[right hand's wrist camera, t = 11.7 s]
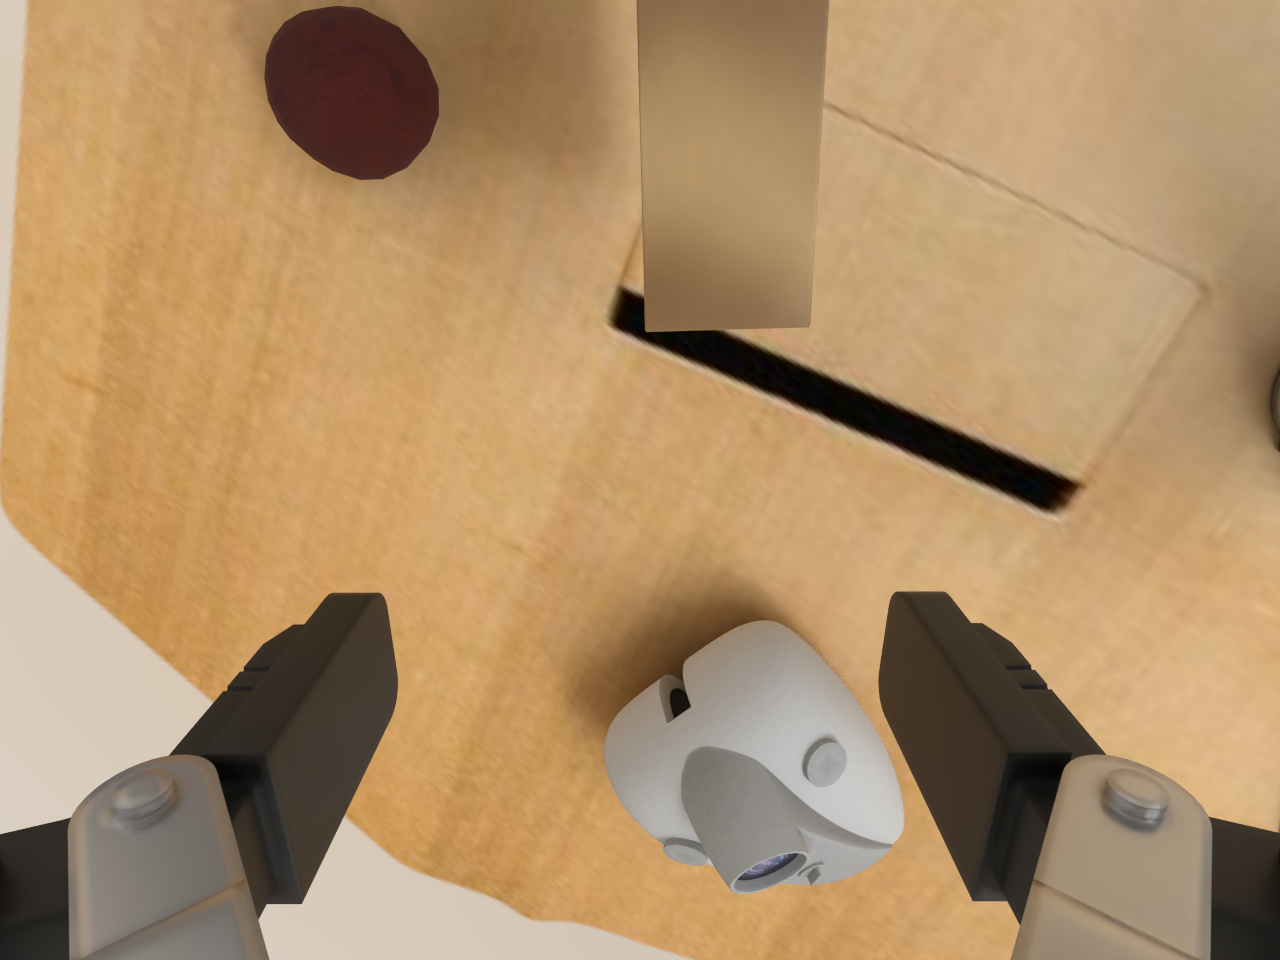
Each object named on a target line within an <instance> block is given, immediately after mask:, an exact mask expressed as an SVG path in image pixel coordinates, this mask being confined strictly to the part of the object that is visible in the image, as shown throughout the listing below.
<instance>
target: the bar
mask: <svg viewBox="0 0 1280 960" xmlns="http://www.w3.org/2000/svg"><path fill="white" fill-rule="evenodd" d="M828 10H829V0H637V29H638V68H639V107H640V145H641V184H642V223H643V261H644V300H645V330H646V331H647V332H655V331H690V330H726V329H762V328H797V327H809V326H810V317H811V300H812V283H813V266H814V249H815V232H816V215H817V198H818V181H819V164H820V146H821V129H822V112H823V95H824V78H825V61H826V44H827V27H828Z"/></svg>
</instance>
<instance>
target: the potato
mask: <svg viewBox="0 0 1280 960" xmlns="http://www.w3.org/2000/svg"><path fill="white" fill-rule="evenodd" d="M265 84H266V89H267V95H268V101H269V103H270V106H271V108H272V110H273V112H274V115H275V117H276V119H277V121H278V123H279V124H280V126H281V127H282V128H283V130H284V131H285V132H286V134H287V135H288V136H289V138H290V139H291V140H292V141H294V142H295V143H296V144H297V145H298V146H299V147H301V148H302V149H303V150H304V151H305V152H306V153H307V154H309V155H310V156H311V157H312V158H313V159H314V160H316V161H318V162H319V163H321V164H322V165H324V166H326V167H327V168H329V169H331V170H332V171H335V172H338V173H341V174H344V175H347V176H350V177H353V178H356V179H359V180H370V179H384V178H386V177H388V176H390V175H392V174H394V173H396V172H398V171H401V170H403V169H405V168H407V167H408V166H409V165H410V163H411V162H412V161H413V160H414V159H415V158H416V157H417V155H418V154H419V153H420V152H421V151H422V150H423V148H424V147H425V146H426V145H427V144H428V143H429V141H430V138H431V136H432V133H433V130H434V127H435V124H436V122H437V119H438V116H439V92H438V87H437V84H436V81H435V79H434V76H433V74H432V71H431V69H430V66H429V64H428V62H427V59H426V58H425V57H424V56H423V54H422V53H421V52H420V51H419V50H418V49H417V48H416V47H415V45H414V44H413V43H412V42H411V41H410V40H409V39H408V37H407V36H406V35H405V34H404V33H403V31H402V30H401V29H400V28H399V27H397V26H395V25H393V24H391V23H389V22H387V21H385V20H383V19H382V18H380V17H378V16H376V15H374V14H372V13H370V12H368V11H366V10H364V9H362V8H355V7H342V6H333V7H326V8H321V9H315V10H310V11H304V12H301V13H299V14H298V15H296V16H294V17H293V18H291V19H289V20H288V21H286V22H285V23H284V24H283V25H282V26H281V28H280V29H279V30H278V32H277V33H276V34H275V35H274V37H273V39H272V41H271V44H270V47H269V50H268V52H267V55H266V65H265Z"/></svg>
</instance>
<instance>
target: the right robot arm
mask: <svg viewBox="0 0 1280 960" xmlns="http://www.w3.org/2000/svg"><path fill="white" fill-rule="evenodd" d="M1272 411H1273V417H1274V420H1275V424H1276V426H1277V428H1278V430H1279V432H1280V373H1279V376H1278V378H1277V381H1276V384H1275V388H1274V392H1273V400H1272ZM1279 452H1280V446H1279ZM397 691H398V676H397V669H396V662H395V655H394V649H393V642H392V635H391V629H390V622H389V615H388V609H387V604H386V600H385V598H384V596H383V595H382V594H381V593H331V594H329V595H328V596H327V597H326V598H325V599H324V600H323V602H322V603H321V604H320V605H319V607H318V608H317V609H316V610H315V612H314V613H313V614H312V616H311V617H310V618H309V619H308V621H307V622H306V623H305V624H304V625H292V626H291V627H289V628H287V629H286V630H284V631H283V632H281V633H280V634H278V635H277V636H275V637H274V638H272V639H271V640H269V641H267V642H266V643H264V644H263V645H262V646H261V648H260V649H259V650H258V651H257V652H256V653H255V655H254V656H253V657H252V658H251V659H250V661H249V662H248V663H247V664H246V665H245V666H244V671H243V672H239V673H238V675H237V676H236V677H235V678H234V679H233V681H232V682H231V683H230V684H229V685H228V689H227V691H223V692H222V693H221V695H220V696H219V697H218V698H217V699H216V701H215V702H214V703H213V704H212V705H211V706H210V708H209V709H208V710H207V711H206V712H205V713H204V715H203V716H202V717H201V718H200V719H199V721H198V722H197V723H196V724H195V725H194V727H193V728H192V729H191V730H190V731H189V732H188V734H187V735H186V736H185V737H184V738H183V739H182V741H181V742H180V743H179V744H178V745H177V746H176V748H175V749H174V750H173V751H172V752H171V754H170V755H169V756H164V757H160V758H156V759H152V760H149V761H146V762H143V763H140V764H138V765H135V766H133V767H131V768H128V769H126V770H124V771H123V772H120V773H119V774H117V775H115V776H113V777H112V778H110V779H109V780H107V781H105V782H104V783H103V784H101V785H100V786H99V787H97V788H96V789H95V790H94V791H92V792H91V793H90V794H89V795H88V796H87V797H86V798H85V799H84V800H83V801H82V802H81V804H80V805H79V806H78V807H77V809H76V810H75V812H74V813H73V815H72V817H71V818H68V819H64V820H60V821H56V822H52V823H47V824H43V825H39V826H34V827H30V828H26V829H22V830H17V831H13V832H8V833H4V834H0V960H269V957H268V953H267V950H266V946H265V943H264V939H263V935H262V932H261V928H260V925H259V921H258V919H259V918H260V916H261V914H262V912H263V910H264V908H265V906H266V904H302V902H303V900H304V898H305V896H306V894H307V892H308V890H309V888H310V886H311V883H312V881H313V879H314V877H315V875H316V873H317V871H318V869H319V867H320V865H321V863H322V861H323V858H324V857H325V854H326V852H327V850H328V848H329V846H330V844H331V842H332V840H333V838H334V836H335V834H336V832H337V830H338V827H339V825H340V823H341V821H342V819H343V817H344V815H345V813H346V811H347V809H348V807H349V805H350V803H351V800H352V798H353V796H354V794H355V792H356V790H357V788H358V786H359V784H360V782H361V780H362V778H363V775H364V773H365V771H366V769H367V767H368V765H369V763H370V761H371V759H372V757H373V755H374V753H375V751H376V748H377V746H378V744H379V742H380V740H381V738H382V736H383V734H384V732H385V730H386V728H387V726H388V724H389V721H390V719H391V717H392V715H393V712H394V709H395V705H396V699H397ZM879 695H880V701H881V706H882V709H883V713H884V715H885V717H886V719H887V722H888V724H889V726H890V728H891V730H892V732H893V734H894V736H895V738H896V740H897V743H898V745H899V747H900V749H901V751H902V753H903V755H904V757H905V759H906V762H907V764H908V766H909V768H910V770H911V772H912V774H913V776H914V778H915V780H916V783H917V785H918V787H919V789H920V791H921V793H922V795H923V797H924V799H925V801H926V804H927V806H928V808H929V810H930V812H931V814H932V816H933V818H934V820H935V823H936V825H937V827H938V829H939V831H940V833H941V835H942V837H943V839H944V841H945V844H946V846H947V848H948V850H949V852H950V854H951V856H952V858H953V860H954V863H955V865H956V867H957V869H958V871H959V873H960V875H961V877H962V879H963V881H964V884H965V886H966V888H967V890H968V892H969V894H970V896H971V898H972V900H973V901H1008V903H1009V905H1010V907H1011V909H1012V911H1013V913H1014V915H1015V916H1016V918H1017V920H1018V922H1019V924H1020V928H1019V932H1018V935H1017V939H1016V943H1015V946H1014V950H1013V953H1012V957H1011V960H1280V833H1277V832H1272V831H1268V830H1264V829H1259V828H1255V827H1251V826H1246V825H1242V824H1238V823H1233V822H1229V821H1225V820H1220V819H1216V818H1212V817H1208V815H1207V813H1206V812H1205V810H1204V809H1203V807H1202V806H1201V805H1200V803H1199V802H1198V801H1197V800H1196V799H1195V798H1194V797H1193V796H1192V795H1191V794H1190V793H1189V792H1188V791H1186V790H1185V789H1184V788H1183V787H1181V786H1180V785H1179V784H1177V783H1176V782H1175V781H1173V780H1171V779H1170V778H1168V777H1167V776H1165V775H1163V774H1161V773H1160V772H1158V771H1156V770H1154V769H1152V768H1149V767H1147V766H1145V765H1142V764H1140V763H1137V762H1134V761H1131V760H1128V759H1124V758H1120V757H1116V756H1109V755H1106V754H1105V753H1104V751H1103V750H1102V749H1101V748H1100V747H1099V745H1098V744H1097V743H1096V742H1095V741H1094V740H1093V738H1092V737H1091V736H1090V735H1089V734H1088V732H1087V731H1086V730H1085V729H1084V728H1083V726H1082V725H1081V724H1080V723H1079V722H1078V721H1077V719H1076V718H1075V717H1074V716H1073V715H1072V713H1071V712H1070V711H1069V710H1068V709H1067V707H1066V706H1065V705H1064V704H1063V703H1062V702H1061V700H1060V699H1059V698H1058V697H1057V696H1056V694H1055V693H1054V692H1053V691H1052V690H1051V689H1048V688H1047V684H1046V683H1045V681H1044V680H1043V679H1042V678H1041V677H1040V675H1039V674H1038V673H1037V672H1036V671H1035V670H1032V669H1031V665H1030V664H1029V662H1028V661H1027V660H1026V659H1025V658H1024V656H1023V655H1022V654H1021V653H1020V652H1019V650H1018V649H1017V648H1016V647H1015V646H1014V644H1013V643H1012V642H1010V641H1009V640H1007V639H1006V638H1004V637H1002V636H1001V635H999V634H998V633H996V632H995V631H993V630H992V629H990V628H989V627H987V626H986V625H984V624H983V623H971V622H970V621H969V620H968V619H967V617H966V616H965V615H964V613H963V612H962V611H961V610H960V608H959V607H958V606H957V605H956V603H955V602H954V601H953V599H952V598H951V597H950V596H949V595H948V594H947V593H946V592H895V593H894V594H893V595H892V597H891V600H890V603H889V609H888V615H887V622H886V629H885V636H884V642H883V649H882V656H881V663H880V670H879Z"/></svg>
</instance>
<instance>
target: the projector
mask: <svg viewBox="0 0 1280 960" xmlns="http://www.w3.org/2000/svg"><path fill="white" fill-rule="evenodd" d="M683 680H684V682H683V681H681V680H680V679H679V678H677V677H675V676H673V675H665V676H663V677H661V678H660V679H659V680H657V681H656V682H655V683H653V684H652V685H650V686H649V687H648V688H647V689H645V690H644V691H643V692H641V693H640V694H639V695H638V696H636V697H635V698H634V699H633V700H632V701H630V702H629V703H628V704H627V705H626V706H625V707H624V708H623V709H622V710H621V711H620V712H619V713H618V714H617V716H616V717H615V718H614V720H613V721H612V723H611V725H610V727H609V730H608V732H607V735H606V739H605V744H604V761H605V766H606V770H607V773H608V777H609V779H610V782H611V784H612V786H613V788H614V790H615V793H616V794H617V796H618V798H619V799H620V801H621V802H622V804H623V806H624V807H625V808H626V810H627V811H628V812H629V813H630V815H631V816H632V817H633V818H634V820H635V821H636V822H637V823H638V824H639V825H640V826H641V827H642V828H643V829H644V830H645V831H647V832H648V833H649V834H650V835H651V836H653V837H654V838H655V839H657V840H658V841H659V842H661V843H662V844H664V848H663V851H664V853H665V854H666V855H667V856H668V857H669V858H671V859H673V860H675V861H677V862H680V863H684V864H688V865H704V864H707V865H710V866H714V867H715V869H716V870H717V872H718V873H719V874H720V876H721V877H722V879H723V880H724V881H725V883H726V884H727V886H728V887H729V889H730V890H731V891H732V892H734V893H737V894H748V893H754V892H758V891H762V890H765V889H768V888H771V887H774V886H776V885H778V884H780V883H786V884H811V886H813V885H814V884H823V883H831V882H836V881H840V880H843V879H846V878H848V877H851V876H853V875H855V874H857V873H859V872H861V871H863V870H865V869H866V868H868V867H870V866H871V865H873V864H874V863H876V862H877V861H878V860H880V859H881V858H882V857H884V856H885V855H886V854H887V853H888V852H889V851H890V850H891V849H892V844H893V843H894V842H895V841H896V840H897V839H898V838H899V836H900V835H901V833H902V831H903V828H904V809H903V801H902V796H901V791H900V787H899V783H898V779H897V776H896V773H895V770H894V767H893V764H892V762H891V759H890V757H889V754H888V752H887V750H886V748H885V746H884V744H883V741H882V739H881V737H880V736H879V734H878V732H877V730H876V729H875V727H874V725H873V724H872V722H871V720H870V719H869V717H868V716H867V714H866V713H865V711H864V710H863V708H862V707H861V705H860V704H859V703H858V701H857V700H856V698H855V697H854V696H853V694H852V693H851V692H850V690H849V689H848V688H847V687H846V685H845V684H844V683H843V682H842V680H841V679H840V678H839V677H838V676H837V675H836V673H835V672H834V671H833V670H832V669H831V667H830V666H829V665H828V664H827V663H826V662H825V661H824V660H823V659H822V658H821V656H820V655H819V654H818V653H817V652H816V651H815V650H814V649H813V648H812V647H811V646H810V645H809V644H808V643H807V642H805V641H804V640H803V639H802V638H801V637H800V636H799V635H797V634H796V633H795V632H793V631H792V630H791V629H789V628H788V627H786V626H784V625H782V624H780V623H777V622H774V621H768V620H762V621H754V622H750V623H747V624H744V625H741V626H738V627H736V628H734V629H732V630H730V631H728V632H727V633H725V634H723V635H722V636H720V637H718V638H717V639H715V640H714V641H712V642H711V643H709V644H708V645H706V646H705V647H703V648H702V649H700V650H699V651H697V652H696V653H695V654H693V655H692V656H690V657H689V658H688V659H686V661H685V662H684V665H683Z"/></svg>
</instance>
